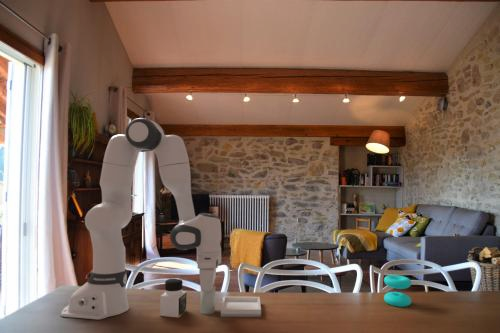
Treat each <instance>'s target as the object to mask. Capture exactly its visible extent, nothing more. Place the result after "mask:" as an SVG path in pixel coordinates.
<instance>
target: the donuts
mask: <svg viewBox="0 0 500 333" xmlns="http://www.w3.org/2000/svg"><path fill="white" fill-rule="evenodd" d="M383 282H384V284H385V285H386V286H387V287H389V288H393V289H397V290H404V289H408V288H410V287H411V286H412V280H411V279H410V278H409V277H406V276H403V275H398V274H389V275H385V277H384V279H383ZM383 300H384V302H385V303H386V304H388V305H390V306H394V307H401V308H402V307H403V308H405V307H409V306H410V305H411V304H412V299H411V297H410V296H409V295H407V294H406V293H403V292H399V291H390V292H387V293H385V294H384V295H383Z"/></svg>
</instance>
